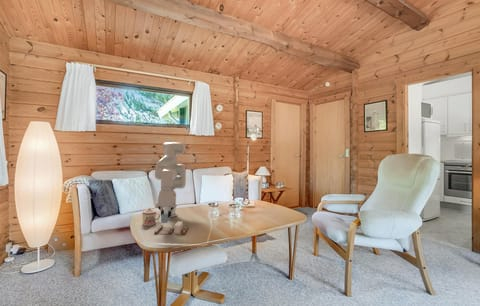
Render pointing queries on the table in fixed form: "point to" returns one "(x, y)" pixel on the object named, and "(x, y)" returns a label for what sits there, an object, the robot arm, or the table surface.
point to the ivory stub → (178, 227)
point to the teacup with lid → (149, 217)
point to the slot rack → (169, 231)
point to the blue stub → (164, 217)
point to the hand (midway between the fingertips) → (165, 216)
